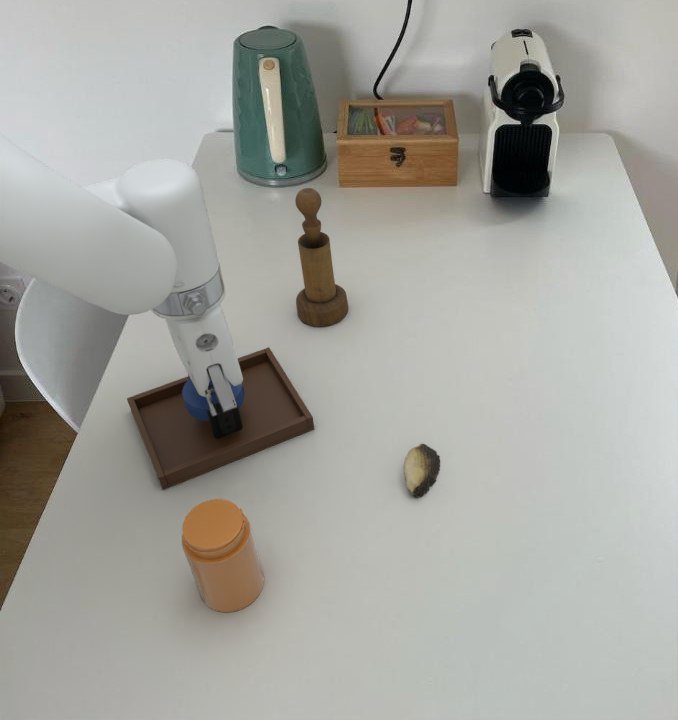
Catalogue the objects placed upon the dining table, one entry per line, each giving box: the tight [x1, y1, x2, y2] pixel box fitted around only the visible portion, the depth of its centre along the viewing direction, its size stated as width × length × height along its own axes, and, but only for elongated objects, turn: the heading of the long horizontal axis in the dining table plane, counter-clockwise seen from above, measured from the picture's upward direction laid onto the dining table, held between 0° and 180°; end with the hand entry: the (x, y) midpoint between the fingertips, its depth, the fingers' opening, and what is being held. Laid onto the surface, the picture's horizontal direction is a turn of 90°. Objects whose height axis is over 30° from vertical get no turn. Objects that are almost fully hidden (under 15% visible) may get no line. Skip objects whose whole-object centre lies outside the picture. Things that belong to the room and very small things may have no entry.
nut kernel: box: [403, 443, 441, 498], centre depth 85 cm, size 6×5×3 cm
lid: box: [182, 379, 245, 421], centre depth 89 cm, size 6×6×2 cm
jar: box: [181, 498, 265, 613], centre depth 73 cm, size 6×6×10 cm
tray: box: [126, 347, 315, 491], centre depth 92 cm, size 17×13×2 cm
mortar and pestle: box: [294, 187, 349, 327], centre depth 100 cm, size 7×6×18 cm
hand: (217, 411), depth 91 cm, fingers closed on lid, 6 cm apart
